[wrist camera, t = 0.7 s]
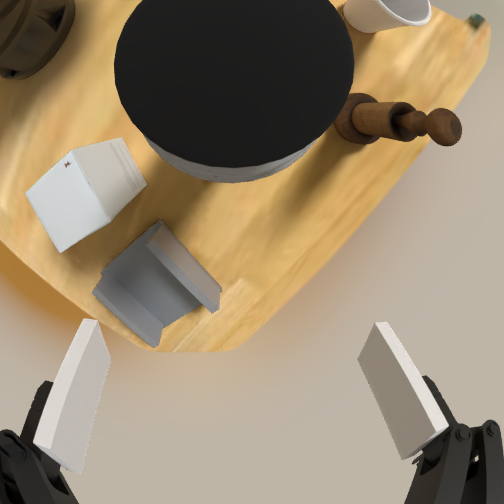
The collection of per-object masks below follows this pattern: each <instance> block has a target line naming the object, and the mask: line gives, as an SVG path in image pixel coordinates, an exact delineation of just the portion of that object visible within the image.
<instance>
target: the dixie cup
mask: <svg viewBox="0 0 504 504" xmlns="http://www.w3.org/2000/svg"><path fill="white" fill-rule="evenodd" d="M343 13H344V16H345V18H346V20H347V21H348V23H349V24H350V25H351V26H352V27H354V28H355V29H357V30H358V31H361V32H364V33H374V32H378V31H383V30H388V29H393V28H398V27H404V26H410V25H411V26H422V25H424V24H426V23H427V22H428V21H429V19H430V17H431V6H430V3H429V0H347V2H346V3H345V4H344V7H343Z"/></svg>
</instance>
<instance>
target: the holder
mask: <svg viewBox="0 0 504 504" xmlns="http://www.w3.org/2000/svg"><path fill="white" fill-rule="evenodd" d="M101 274H102V275H103V276H102V277H101V279H100V280H99V282H98V283H97V285H96V286H95V288H94V289H93V291H92V294H93V295H94V296H95V297H96V298H97V299H98V300H99V301H100V302H102V303H103V304H104V305H105V306H106V307H107V308H108V309H109V310H110V311H111V312H112V313H113V314H114V315H115V316H116V317H118V318H119V319H120V320H121V321H122V322H123V323H124V324H125V325H127V326H128V327H129V328H130V329H131V330H132V331H133V332H135V333H136V334H137V335H138V336H139V337H141V338H142V339H143V340H144V341H145V342H147V343H148V344H149V345H150V346H151V347H153V348H155V347H156V346H158V345H159V342H160V338H161V334H162V329H163V328H165V327H166V326H168V325H169V324H171V323H173V322H174V321H176V320H177V319H179V318H181V317H182V316H184V315H185V314H187V313H189V312H190V311H192V310H193V309H195V308H197V307H198V306H200V305H201V304H203V305H204V306H205V307H206V308H207V309H208V310H209V311H210V312H211V313H214V312H215V311H217V310H219V300H220V292H222V287H221V286H220V285H219V284H218V283H217V282H216V281H215V280H214V278H213V277H212V276H211V275H210V274H209V273H208V272H207V271H206V270H205V269H204V268H203V266H202V265H201V264H200V263H199V262H198V261H197V260H196V259H195V258H194V257H193V255H192V254H191V253H190V252H189V251H188V250H187V249H186V248H185V246H184V245H183V244H182V243H181V242H180V241H179V240H178V239H177V237H176V236H175V235H174V234H173V233H172V232H171V231H170V229H169V228H168V227H167V226H166V225H165V224H164V223H163V221H162V220H161V219H160V220H158V221H157V222H156V223H155V224H154V225H152V226H151V227H150V228H149V229H148V230H147V231H145V232H144V233H143V234H142V235H141V236H139V237H138V238H137V239H136V240H135V241H134V242H133V243H131V244H130V245H129V246H128V247H127V248H126V249H125V250H123V251H122V252H121V253H120V254H119V255H118V256H117V257H116V258H115V259H113V260H112V261H111V262H110V263H109V264H108V265H107V266H106V267H105V268H104V269H103V270H102V271H101Z"/></svg>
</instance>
